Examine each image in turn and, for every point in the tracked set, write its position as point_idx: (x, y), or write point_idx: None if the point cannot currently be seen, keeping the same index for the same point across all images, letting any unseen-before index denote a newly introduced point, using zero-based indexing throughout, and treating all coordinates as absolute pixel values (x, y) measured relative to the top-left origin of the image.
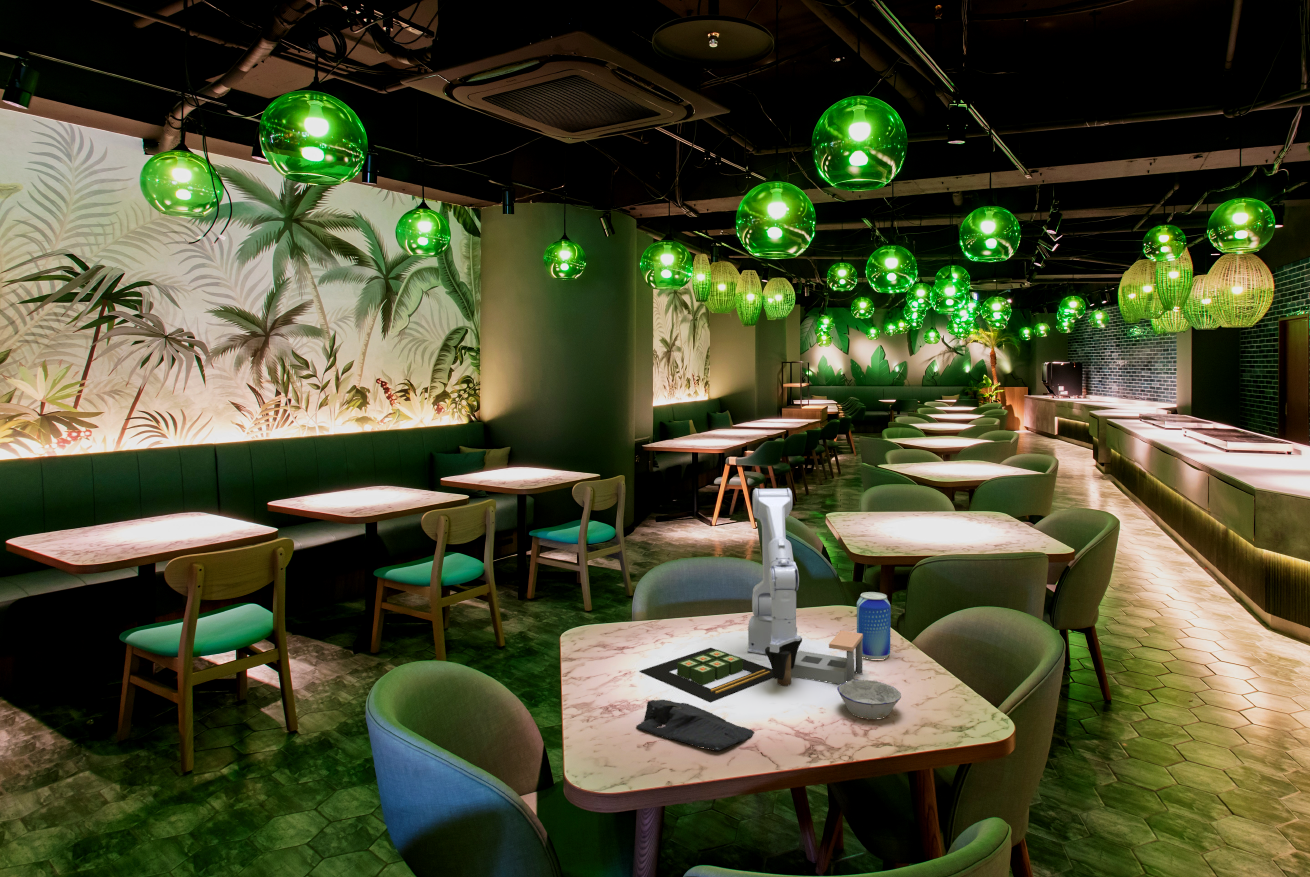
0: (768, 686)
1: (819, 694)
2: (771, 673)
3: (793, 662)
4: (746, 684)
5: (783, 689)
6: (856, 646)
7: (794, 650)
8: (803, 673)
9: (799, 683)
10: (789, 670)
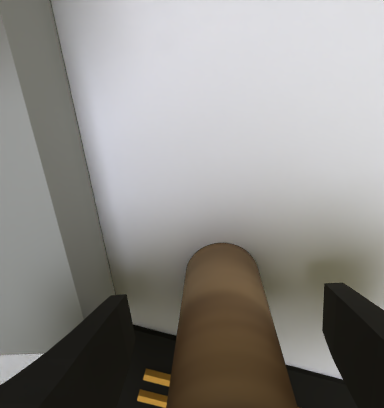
0: (302, 320)
1: (285, 32)
2: (150, 360)
3: (109, 319)
4: (337, 400)
5: (306, 248)
6: None
7: (60, 405)
8: (88, 227)
9: (181, 208)
10: (241, 294)
